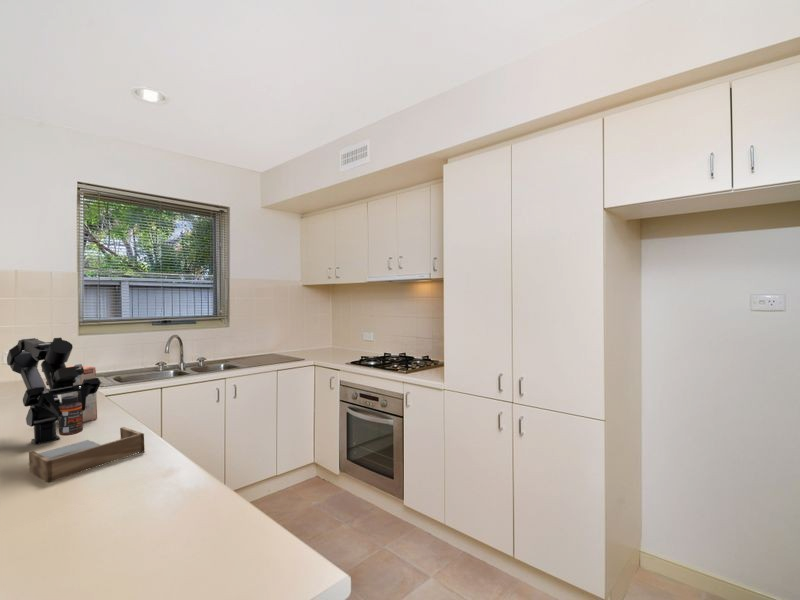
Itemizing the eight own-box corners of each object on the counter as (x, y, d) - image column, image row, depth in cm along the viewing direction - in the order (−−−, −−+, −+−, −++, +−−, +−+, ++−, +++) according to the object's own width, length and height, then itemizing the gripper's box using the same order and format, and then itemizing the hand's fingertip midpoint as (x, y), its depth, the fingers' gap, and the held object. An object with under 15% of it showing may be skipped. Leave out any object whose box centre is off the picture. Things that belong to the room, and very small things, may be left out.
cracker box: (98, 418, 164) (96, 366, 163) (81, 423, 158) (79, 369, 158) (78, 415, 170) (76, 364, 169) (61, 419, 164) (58, 367, 164)
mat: (34, 455, 127) (34, 454, 127) (87, 440, 139) (87, 439, 139) (52, 465, 120) (52, 463, 120) (107, 448, 131) (107, 447, 131)
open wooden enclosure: (29, 471, 115) (28, 452, 115) (124, 443, 135) (123, 427, 135) (47, 482, 108) (46, 461, 108) (144, 451, 128) (143, 433, 128)
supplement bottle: (69, 437, 125) (67, 400, 125) (53, 435, 126) (51, 399, 126) (88, 430, 131) (86, 394, 130) (72, 429, 132) (71, 394, 132)
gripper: (24, 362, 122) (40, 404, 116) (97, 353, 138) (114, 390, 132) (16, 385, 126) (30, 427, 121) (87, 374, 142) (103, 410, 137)
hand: (72, 412), depth 128 cm, fingers closed on supplement bottle, 6 cm apart
